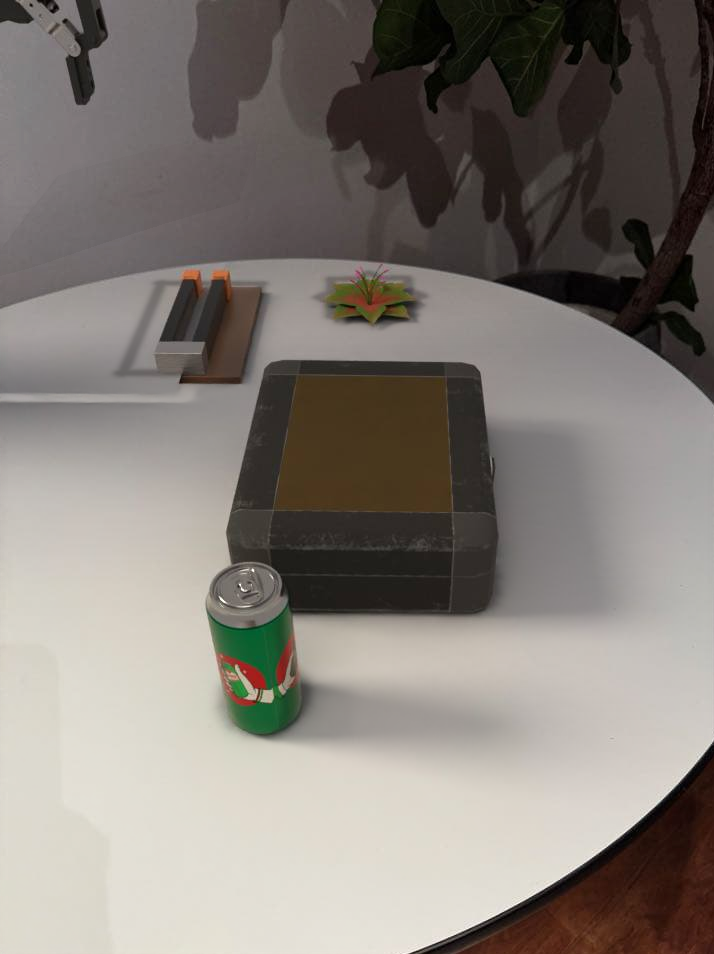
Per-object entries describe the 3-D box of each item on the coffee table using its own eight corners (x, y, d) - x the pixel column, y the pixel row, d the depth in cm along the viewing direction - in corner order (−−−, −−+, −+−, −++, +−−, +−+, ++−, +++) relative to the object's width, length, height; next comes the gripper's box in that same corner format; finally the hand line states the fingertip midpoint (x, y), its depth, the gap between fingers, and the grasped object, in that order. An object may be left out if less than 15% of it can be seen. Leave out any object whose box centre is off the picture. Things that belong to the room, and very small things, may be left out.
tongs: (188, 290, 103) (184, 269, 102) (232, 290, 103) (229, 270, 102) (156, 375, 90) (151, 353, 88) (207, 375, 90) (203, 353, 88)
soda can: (285, 669, 62) (269, 547, 54) (314, 720, 59) (301, 599, 51) (218, 695, 61) (191, 573, 53) (243, 750, 57) (219, 629, 49)
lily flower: (319, 283, 107) (317, 247, 104) (416, 281, 107) (417, 245, 104) (318, 332, 98) (315, 294, 95) (424, 329, 99) (425, 292, 96)
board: (124, 383, 90) (122, 376, 89) (162, 292, 105) (160, 286, 104) (240, 383, 90) (239, 376, 89) (262, 293, 105) (261, 286, 104)
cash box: (500, 618, 66) (509, 543, 61) (233, 614, 66) (220, 540, 61) (481, 427, 85) (487, 357, 80) (272, 424, 85) (265, 354, 79)
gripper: (-150, -134, 61) (-68, 115, 72) (56, -131, 61) (107, 117, 72) (-105, -144, 66) (-35, 88, 77) (84, -142, 66) (127, 90, 77)
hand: (33, 102), depth 74 cm, fingers open, 8 cm apart
